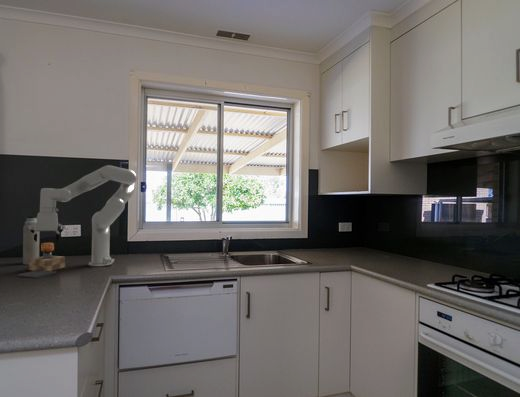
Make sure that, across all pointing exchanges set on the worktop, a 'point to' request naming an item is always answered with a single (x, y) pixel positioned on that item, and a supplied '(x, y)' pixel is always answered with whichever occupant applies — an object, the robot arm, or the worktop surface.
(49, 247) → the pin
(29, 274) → the mat
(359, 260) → the worktop surface
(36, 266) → the eye block
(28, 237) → the thermos bottle
